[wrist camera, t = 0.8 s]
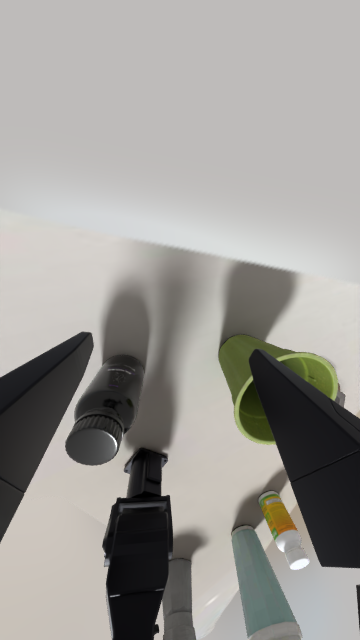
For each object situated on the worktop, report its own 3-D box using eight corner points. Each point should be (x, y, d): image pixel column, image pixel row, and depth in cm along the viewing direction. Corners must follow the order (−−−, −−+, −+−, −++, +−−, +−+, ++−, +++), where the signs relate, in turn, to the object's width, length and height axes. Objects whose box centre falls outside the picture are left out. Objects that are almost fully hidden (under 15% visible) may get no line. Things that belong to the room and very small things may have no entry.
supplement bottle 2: (256, 494, 39) (286, 562, 30) (277, 487, 39) (313, 553, 30) (258, 506, 41) (287, 575, 31) (278, 500, 41) (312, 566, 32)
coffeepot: (203, 558, 44) (230, 737, 27) (190, 577, 47) (207, 754, 29) (150, 556, 41) (143, 757, 24) (139, 576, 43) (125, 775, 26)
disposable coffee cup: (266, 520, 43) (319, 643, 28) (251, 544, 45) (293, 668, 31) (231, 519, 41) (268, 651, 27) (217, 544, 43) (245, 677, 29)
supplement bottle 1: (133, 346, 25) (110, 407, 14) (151, 380, 27) (143, 457, 16) (93, 363, 25) (35, 437, 14) (113, 395, 27) (79, 483, 16)
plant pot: (223, 393, 30) (259, 461, 19) (192, 344, 26) (215, 393, 15) (279, 361, 29) (349, 412, 18) (255, 307, 26) (324, 330, 15)
